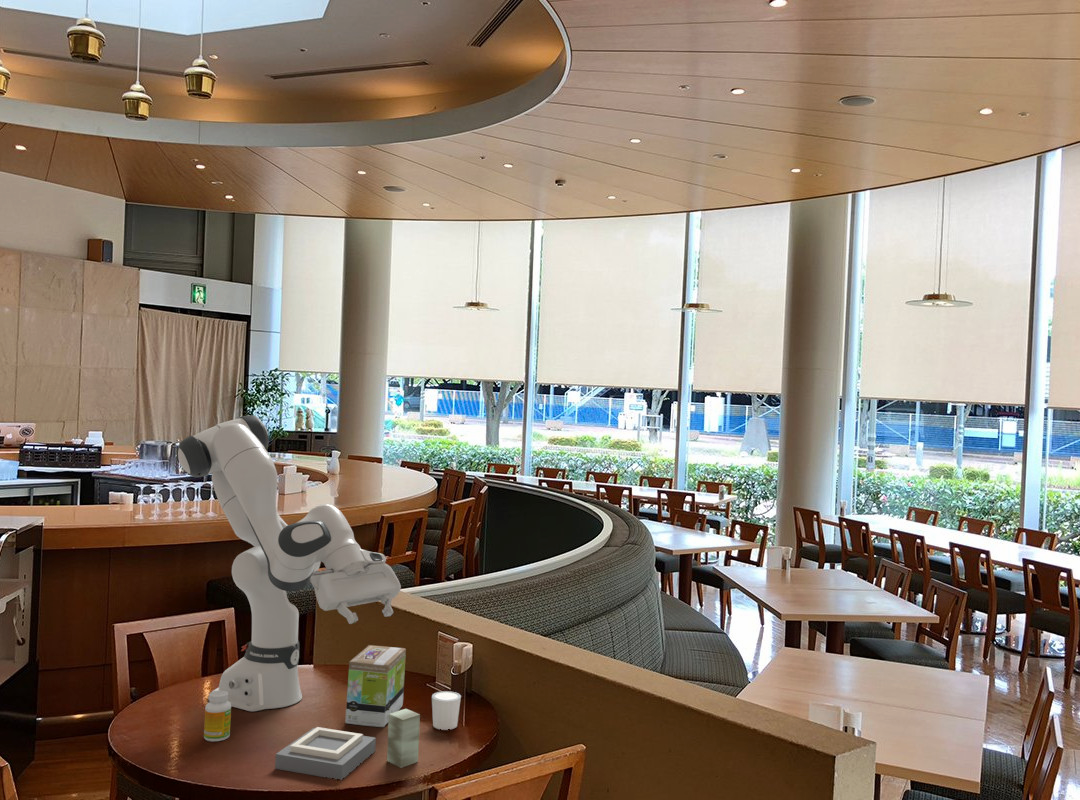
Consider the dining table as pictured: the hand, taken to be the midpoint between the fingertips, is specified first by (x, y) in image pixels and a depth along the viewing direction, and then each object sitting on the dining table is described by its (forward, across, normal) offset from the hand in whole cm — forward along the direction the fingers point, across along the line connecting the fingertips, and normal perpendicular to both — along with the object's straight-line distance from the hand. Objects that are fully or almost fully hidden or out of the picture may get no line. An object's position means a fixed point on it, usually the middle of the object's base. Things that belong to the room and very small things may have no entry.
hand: (372, 618), depth 190 cm
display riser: (+20, -11, +19) cm, 30 cm away
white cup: (+22, +20, +18) cm, 35 cm away
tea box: (+10, +12, +30) cm, 33 cm away
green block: (+28, 0, +11) cm, 30 cm away
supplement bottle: (+2, -22, +37) cm, 43 cm away
